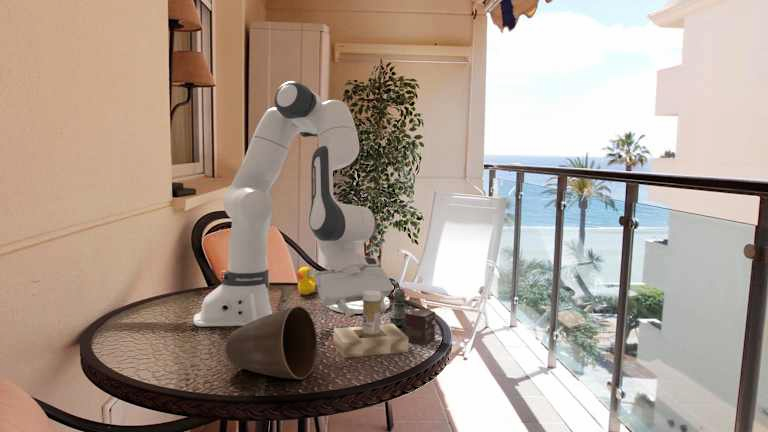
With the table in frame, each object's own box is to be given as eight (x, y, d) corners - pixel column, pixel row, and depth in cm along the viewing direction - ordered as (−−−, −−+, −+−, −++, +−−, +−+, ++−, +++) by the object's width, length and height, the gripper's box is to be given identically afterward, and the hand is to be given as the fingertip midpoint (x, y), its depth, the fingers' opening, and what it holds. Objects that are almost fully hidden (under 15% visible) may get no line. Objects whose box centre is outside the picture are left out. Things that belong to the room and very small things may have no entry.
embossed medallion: (316, 306, 168) (316, 298, 168) (364, 297, 181) (364, 289, 181) (353, 319, 153) (353, 310, 153) (402, 308, 166) (402, 300, 166)
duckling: (304, 298, 178) (304, 269, 177) (291, 297, 180) (291, 268, 179) (320, 291, 188) (320, 264, 188) (307, 290, 190) (307, 263, 189)
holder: (343, 357, 120) (343, 343, 120) (333, 341, 131) (333, 328, 131) (408, 351, 125) (408, 337, 124) (393, 336, 136) (393, 323, 136)
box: (424, 345, 130) (425, 316, 129) (403, 341, 133) (404, 313, 132) (435, 338, 135) (435, 311, 134) (415, 335, 138) (415, 308, 138)
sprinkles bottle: (358, 345, 128) (358, 291, 127) (370, 340, 132) (370, 288, 131) (372, 349, 125) (373, 294, 124) (384, 344, 129) (384, 291, 128)
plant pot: (209, 379, 103) (280, 374, 98) (218, 306, 109) (285, 298, 104) (251, 386, 116) (315, 383, 111) (257, 321, 122) (318, 314, 117)
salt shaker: (407, 332, 140) (408, 288, 139) (386, 330, 142) (387, 287, 141) (410, 326, 146) (411, 284, 145) (390, 324, 147) (391, 283, 146)
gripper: (315, 264, 126) (336, 312, 119) (382, 258, 139) (404, 301, 131) (307, 279, 130) (326, 327, 123) (373, 272, 142) (393, 314, 135)
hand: (367, 313), depth 127 cm, fingers open, 8 cm apart
